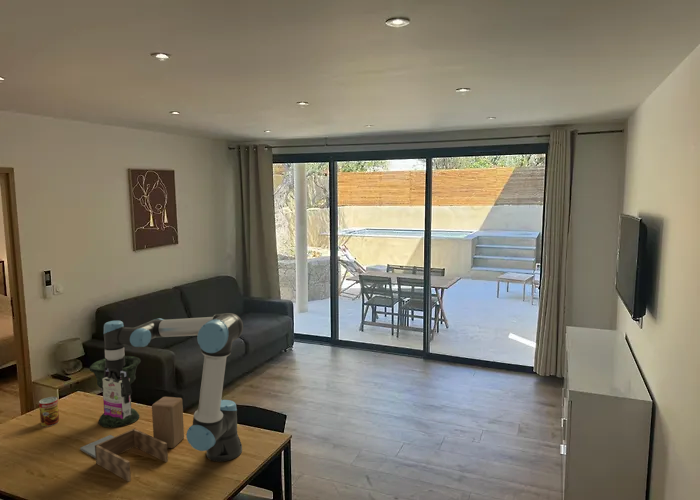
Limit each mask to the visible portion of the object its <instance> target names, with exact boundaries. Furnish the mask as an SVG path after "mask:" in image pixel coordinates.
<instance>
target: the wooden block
mask: <svg viewBox="0 0 700 500" xmlns="http://www.w3.org/2000/svg"><path fill="white" fill-rule="evenodd" d="M183 407H184V406H183V398H182V397H174V396H162V397H161V398H160V399H158V400H156V401H155V402H154V403H153V404H152V405H151V414H152V415H151V416H152V419H151V420H152V432H153V435H152V437H154V438H156V439H159V440H161V441H163V442H165V443H167V449H173V448H175V447H176V446H177V445H179V443H180V442H182V440H184V439H185V428H184V426H185V425H184V408H183Z"/></svg>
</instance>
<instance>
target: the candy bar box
mask: <svg viewBox="0 0 700 500" xmlns="http://www.w3.org/2000/svg"><path fill="white" fill-rule="evenodd" d="M120 379H121V378H120ZM129 382H130V378H129ZM102 383H103V389H102V396H103V397H102V398H103V413H104V415H107V416H111V417H116V418H121V419H124V418H126V417H128V416H130V415H132V412H131V408H132V396H131V395H132V394H131V395H129V409H128V410H126V411H122V397H121V396H123V394H122V392H121V387H123V384H122V380H121V381H116V380H115V379H112V378H108V376H107V377H105V378H103V379H102Z"/></svg>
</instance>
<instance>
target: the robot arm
mask: <svg viewBox="0 0 700 500" xmlns="http://www.w3.org/2000/svg"><path fill="white" fill-rule="evenodd" d="M243 330H244V324H243V320H242V319H241V317H240V316H239V315H238V314H235V313H232V312H226V313H215V314H214V315H213V316H207V317H190V318H188V317H187V318H173V319H172V318H170V319H164V318H160V317H159V318H154V319H152V320H150V321H147V322H144V323H143V324H140V325H137V326H135V327H129V326H127V327H126V326H125V325H124V322H123V321H121V320H110V321H107V322H105V323H104V324H103V340H104V359H105V358H106V360H105V364H106V367H104V375H103V378H105V377H107V376H108V378H112V379H115V380H116V381H121V380H122V384H123V387H121V392H122V394H123V396H121V397H122V411H126V410H128V409H129V395H133V390H132V387H131V384H130V382H129V378H128V372H127V371H126V372H123V366H125V357H124V356H126V355H125V346H127V347H135V348H144V347H147V346H148V345H149V344H150V343H151V340H153V339H155V338H156V339H157V338H169V337H189V336H190V337H191V336H192V337H193V336H197V337H196V338H197V339H196V340H197V343H198V345H199V348H200V353H201V354H202V355H203V356H204V357H203V358H204V359H203V367H202V374H201V375H202V376H201V381H200V382H201V384H200V391H199V400H198V408H197V410H195V412H193V418H192V419H193V420H192V425H190V426H189V427H188V429H187V431H186V440H187V442H188V444H189V445H190V447H192V448H193V449H195V450H197V451H200V452H206V457H207V459H209V460H210V461H212V462H228V461H231V460H234V459H237V458H238V457H239V456H240V455H241V454H242V452H243V445H242V442H241V440H240V437H239V434H238V415H237V414H238V409H237V404H236V402H235V401H233V400H230V399H222V397H223V389H224V381H225V372H226V365H227V357H228V356H229V357H230V355H231V353H232V348H233V346H232V345H233V342H234V341H236V340H237V339H239V338H240V337H241V336H242V334H243ZM120 378H121V379H120ZM102 387H103V383H102Z"/></svg>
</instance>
